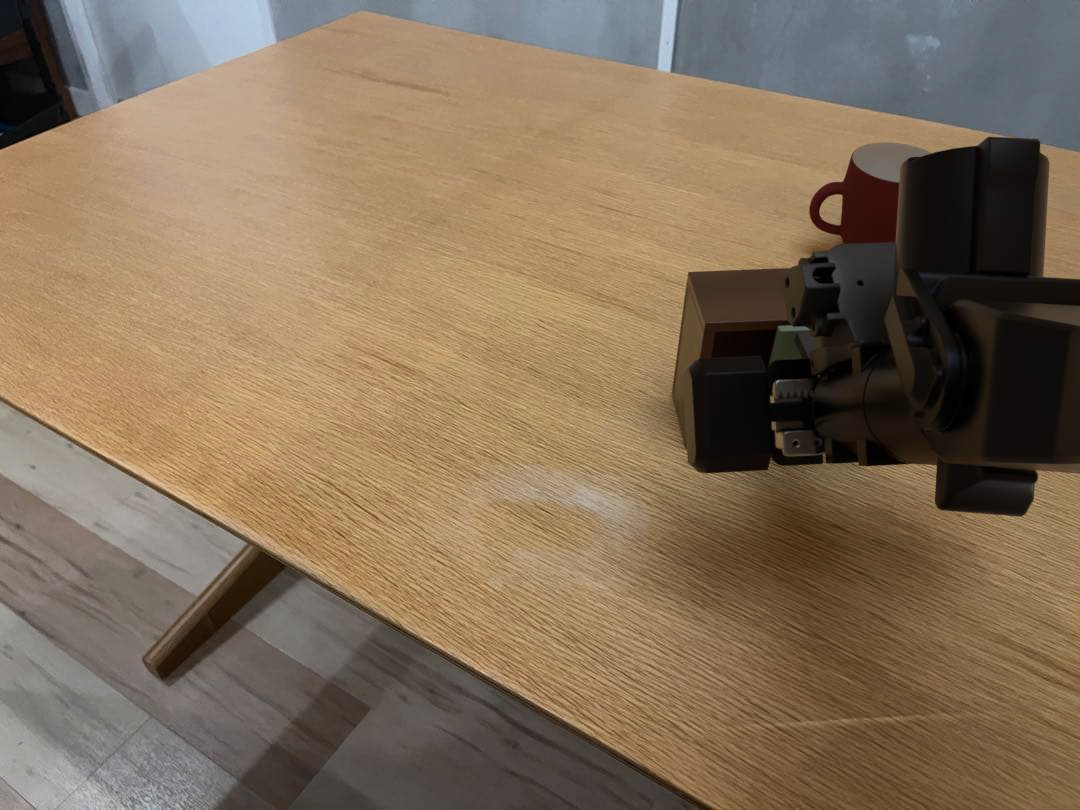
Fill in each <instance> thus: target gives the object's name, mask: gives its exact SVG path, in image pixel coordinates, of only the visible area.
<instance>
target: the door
mask: <svg viewBox="0 0 1080 810" xmlns="http://www.w3.org/2000/svg"><path fill="white" fill-rule="evenodd" d="M820 348H821V337H820V336H819V337H813V336H812V335H811V331H810V329H809V328H807V327H804V326H801V327H793V326H792V325H788V326H778V328H777V332H776V336H775V340H774V345H773V349H772V353H771V357H770V362H769V364H770V363H771V362H773V361H775V360H786V359H808V358H810V351H813V350H817V349H820ZM818 378H820V375H818Z"/></svg>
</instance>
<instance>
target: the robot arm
mask: <svg viewBox="0 0 1080 810" xmlns="http://www.w3.org/2000/svg"><path fill="white" fill-rule="evenodd" d="M930 153H931V154H928V155H925V156H922V157H911V158H908V159H907V160H906V161H905V162H903V164H902V166H901V168H900V179H899V195H898V211H897V227H896V242H877V243H851V244H843V243H840V244H836V245H834V246H833V247H831V248H830V249H829V250H822V251H821V250H820V251H813V252H812V253H811V255H810V256H809V257H800V258H799V260H798V262H797V265H793V266H791V267H789V268H790V269H789V271H788V272H787V274H786V276H785V278H784V280H783V286H782V292H783V297H784V302H785V307H786V312H787V317H788V322H789V323H790V324H791V325H792V326H793V327H801V326H804V327H807V328H809V329H810V331H811V335H812V336H813V337H819V336H820V337H821V348H820V349H817V350H813V351H810V358H808V359H786V360H775V361H773V362H771V363H770V364H769V366H768V368H767V370H766V367H765V365H764V363H763V360H762V358H761V356H741V357H719V358H699V359H697V360H695V361H692V362H691V363H690V364H689V365H688V367H687V368H686V369H685V370H684V371H683V388H684V406H685V423H686V441H687V448H686V457H687V464H688V465H690V466H691V467H692V468H693V469H694V470H695V471H696V472H697V473H702V474H717V473H718V474H719V473H740V472H741V473H742V472H757V471H758V472H759V471H761V472H762V471H768V469H769V467H770V461H772V462H773V463H775V465H778V466H780V467H788V466H790V467H791V466H807V465H822V464H823V465H824V458H825V464H829V465H831V464H832V465H835V464H837V465H838V464H857V465H858V466H859V467H881V466H899V465H925V466H926V465H929V466H936V474H935V488H934V489H935V492H934V504H935V507H936V508H937V509H938V510H940V511H943V512H944V511H945V512H955V513H956V512H957V513H967V514H969V513H970V514H981V515H993V516H994V515H995V516H1005V517H1006V516H1007V517H1017V518H1018V517H1019V518H1020V517H1024V516H1025V515H1026V514H1027V513H1028V511H1029V509H1030V507H1031V506H1032V504H1033V502H1034V500H1035V489H1036V483H1037V482H1038V480H1039V474H1038V472H1037V471H1041V472H1053V473H1065V474H1066V473H1067V474H1079V475H1080V278H1068V277H1066V278H1065V277H1052V276H1051V277H1050V276H1044V273H1045V256H1046V235H1047V217H1048V198H1049V180H1050V179H1049V178H1050V161H1049V158H1048V156H1046V155H1045V154H1043V153H1042V152H1041V141H1040V139H1039V138H1027V137H1005V136H987V137H986V138H985V139H984V140H982V141H981V142H980V143H979V144H977V145H971V146H970V145H969V146H963V147H956V148H955V147H954V148H949V149H944V150H939V151H934V152H930ZM818 375H820V378H818Z"/></svg>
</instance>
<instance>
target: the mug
mask: <svg viewBox="0 0 1080 810" xmlns="http://www.w3.org/2000/svg"><path fill="white" fill-rule="evenodd" d="M931 153H932V152H931V151H928V150H926V149H924V148H921V147H917V146H915V145H909V144H905V143H900V142H873V143H867V144H865V145H861V146H859V147H858V148H855V149H854V150H853V152H852V154H851V156H850V159H849V161H848V162H849V163H848V167H847V168H846V172H845V175H844V178H843V181H832V182H828V183H827V184H824V185H823V186H821V187H820V188H819V189H818V190H817V191H816V192H815V193H814V195H813V196H812V198H811V199H810V203H809V207H808V208H809V211H808V213H809V219H810V221H811V222H812V224H813V225H814V227H816V228H817V229H818V230H820V231H822V232H824V233H826V234H831V235H835V236H840V239H841V241H842V244H851V243H877V242H896V227H897V211H898V195H899V179H900V168H901V166H902V164H903V162H905V161H906V160H907V159H908V158H911V157H922V156H925V155H928V154H931ZM837 195H838V196H839V195H840V196H842V201H841V214H840V215H841V216H840V224H834V223H831V222H828V221H825V220H824V219H823V218H822V217H821V213H820V209H821V207H822V204H823V203H824V202H825V200H826V199H828V198H829V197H831V196H837Z"/></svg>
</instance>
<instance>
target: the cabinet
mask: <svg viewBox="0 0 1080 810" xmlns="http://www.w3.org/2000/svg"><path fill="white" fill-rule="evenodd" d="M790 268H791V267H783V268H782V267H780V268H777V267H776V268H758V269H757V268H756V269H755V268H753V269H751V268H750V269H730V270H729V269H728V270H724V269H723V270H702V271H701V270H700V271H699V270H698V271H688V272H687V277H686V284H685V291H684V299H683V306H682V315H681V320H680V321H681V322H680V329H679V337H678V343H677V352H676V358H675V367H674V373H673V380H672V381H673V382H672V388H671V397H672V402H673V406H674V409H675V413H676V417H677V421H678V425H679V428H680V432H681V436H682V441H683V444H684V448H685V449H687V441H686V423H685V406H684V388H683V371H684V370H685V369H686V368H687V367H688V365H689V364H690V363H691V362H692V361H695V360H697V359H699V358H719V357H741V356H761V358H762V360H763V363H764V365H765V367H766V370H767V368H768V366H769V362H770V357H771V353H772V349H773V345H774V340H775V336H776V332H777V328H778V326H788V325H791V324H790V323H789V322H788V317H787V312H786V307H785V302H784V297H783V292H782V286H783V280H784V278H785V276H786V274H787V272H788V271H789V269H790Z"/></svg>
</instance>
